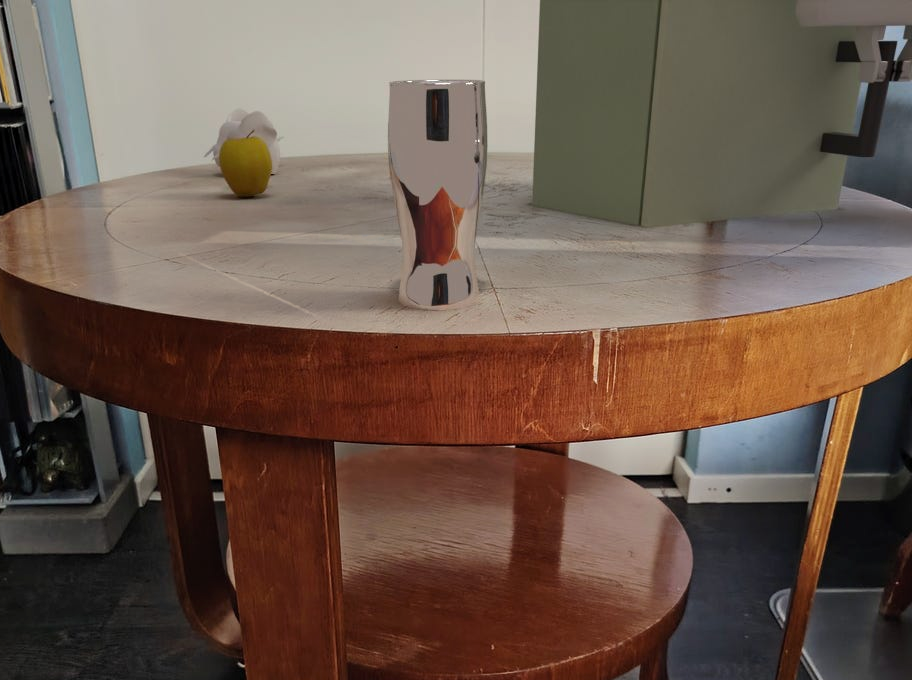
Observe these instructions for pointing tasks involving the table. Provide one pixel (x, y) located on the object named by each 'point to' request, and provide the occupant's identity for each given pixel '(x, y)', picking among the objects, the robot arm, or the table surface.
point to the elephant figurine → (242, 126)
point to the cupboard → (594, 106)
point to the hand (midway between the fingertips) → (884, 82)
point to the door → (753, 112)
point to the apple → (246, 165)
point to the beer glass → (438, 187)
